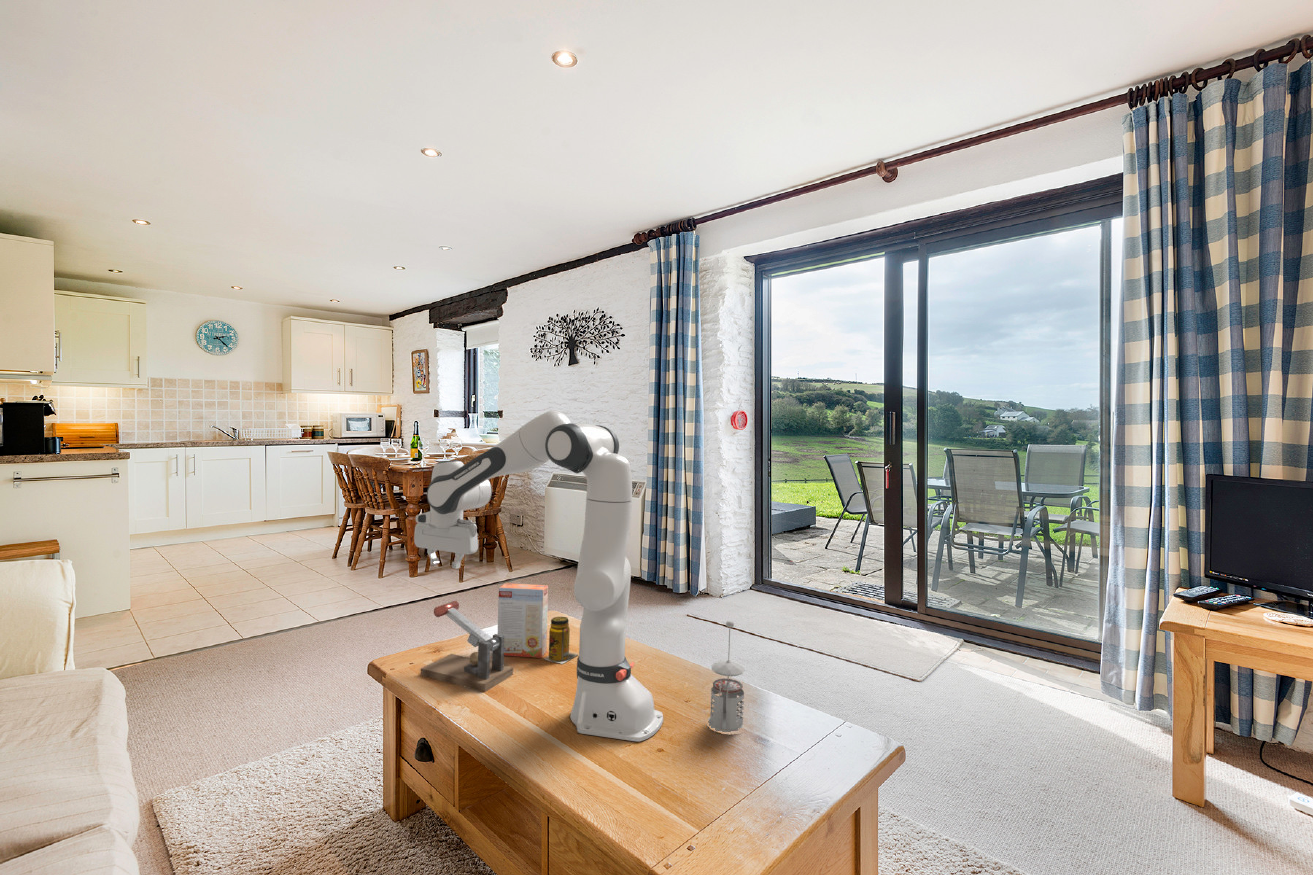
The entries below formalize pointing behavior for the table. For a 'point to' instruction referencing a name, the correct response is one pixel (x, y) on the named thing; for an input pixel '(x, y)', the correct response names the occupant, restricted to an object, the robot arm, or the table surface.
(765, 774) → the table surface
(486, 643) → the tabletop arbor press
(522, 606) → the cracker box
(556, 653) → the condiment
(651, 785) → the table surface
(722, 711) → the french press
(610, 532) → the robot arm
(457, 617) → the lever
